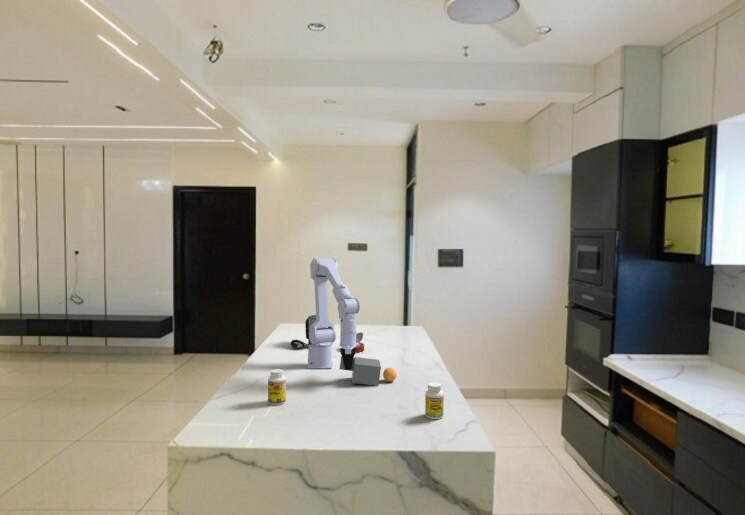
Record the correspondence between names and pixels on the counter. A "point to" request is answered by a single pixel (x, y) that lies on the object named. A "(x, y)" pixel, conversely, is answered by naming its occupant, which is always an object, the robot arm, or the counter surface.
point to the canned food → (361, 345)
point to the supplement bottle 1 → (276, 387)
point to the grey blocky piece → (364, 370)
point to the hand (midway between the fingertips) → (347, 368)
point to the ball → (389, 374)
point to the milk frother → (309, 322)
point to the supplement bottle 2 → (434, 401)
